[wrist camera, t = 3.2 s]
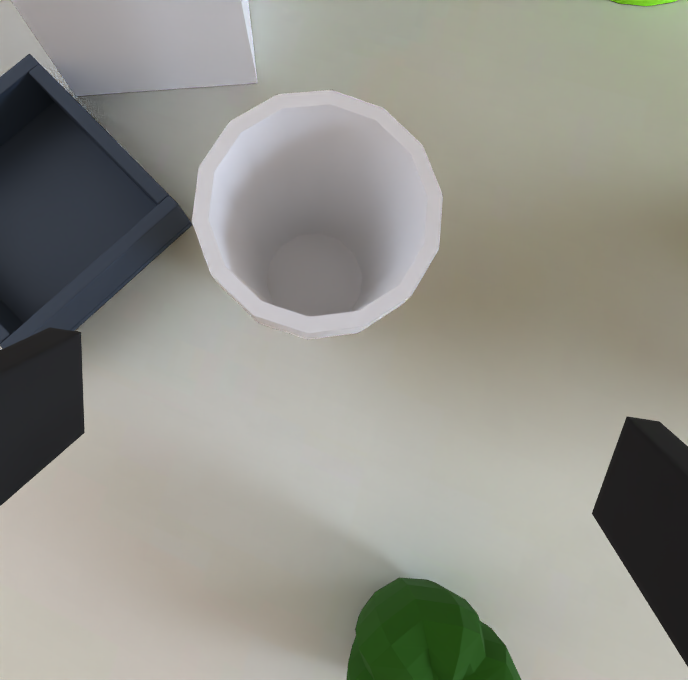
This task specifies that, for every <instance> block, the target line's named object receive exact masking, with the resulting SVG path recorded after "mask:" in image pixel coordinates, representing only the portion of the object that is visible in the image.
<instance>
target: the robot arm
mask: <svg viewBox="0 0 688 680" xmlns="http://www.w3.org/2000/svg"><path fill="white" fill-rule="evenodd" d="M82 434H84V407H83V379H82V351H81V332H76V331H70V330H63V329H57V328H51V327H50V328H47V329H45V330H43V331H41V332H39V333H36V334H34V335H32V336H30V337H28V338H26V339H23V340H21V341H19V342H17V343H15V344H13V345H10V346H8V347H6V348H4V349H2V350H0V506H1V505H2V504H3V503H4V502H5V501H7V500H8V499H9V498H10V497H11V496H12V495H13V494H15V493H16V492H17V491H18V490H19V489H20V488H21V487H23V486H24V485H25V484H26V483H27V482H28V481H30V480H31V479H32V478H33V477H34V476H35V475H36V474H38V473H39V472H40V471H41V470H42V469H43V468H44V467H46V466H47V465H48V464H49V463H50V462H51V461H52V460H54V459H55V458H56V457H57V456H58V455H59V454H61V453H62V452H63V451H64V450H65V449H66V448H67V447H69V446H70V445H71V444H72V443H73V442H74V441H75V440H77V439H78V438H79V437H80V436H81V435H82ZM592 514H593V516H594V518H595V519H596V521H597V522H598V524H599V526H600V527H601V529H602V530H603V532H604V534H605V535H606V537H607V538H608V540H609V542H610V543H611V545H612V546H613V548H614V550H615V551H616V553H617V554H618V556H619V558H620V559H621V561H622V562H623V564H624V566H625V567H626V569H627V570H628V572H629V574H630V575H631V577H632V578H633V580H634V582H635V583H636V585H637V586H638V588H639V590H640V591H641V593H642V594H643V596H644V598H645V599H646V601H647V602H648V604H649V606H650V607H651V609H652V610H653V612H654V613H655V615H656V617H657V618H658V620H659V621H660V623H661V625H662V626H663V628H664V629H665V631H666V633H667V634H668V636H669V637H670V639H671V641H672V642H673V644H674V645H675V647H676V649H677V650H678V652H679V653H680V655H681V657H682V658H683V660H684V661H685V663H686V665H687V666H688V446H687V445H685V444H684V443H683V442H682V441H681V440H680V439H679V438H677V437H676V436H675V435H674V434H673V433H672V432H671V431H670V430H668V429H667V428H666V427H665V426H664V425H663V424H662V423H660V422H659V421H652V420H646V419H639V418H633V417H626V420H625V423H624V426H623V428H622V431H621V434H620V437H619V440H618V442H617V445H616V448H615V451H614V453H613V456H612V459H611V462H610V465H609V467H608V470H607V473H606V476H605V479H604V481H603V484H602V487H601V490H600V492H599V495H598V498H597V501H596V504H595V506H594V509H593V512H592Z"/></svg>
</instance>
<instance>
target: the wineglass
mask: <svg viewBox="0 0 688 680" xmlns="http://www.w3.org/2000/svg"><path fill="white" fill-rule="evenodd" d="M611 1H614V2H616V3H621V4H631V5H640V6H651V5H658V4H664V3H670V2H675V1H677V0H611Z"/></svg>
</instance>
